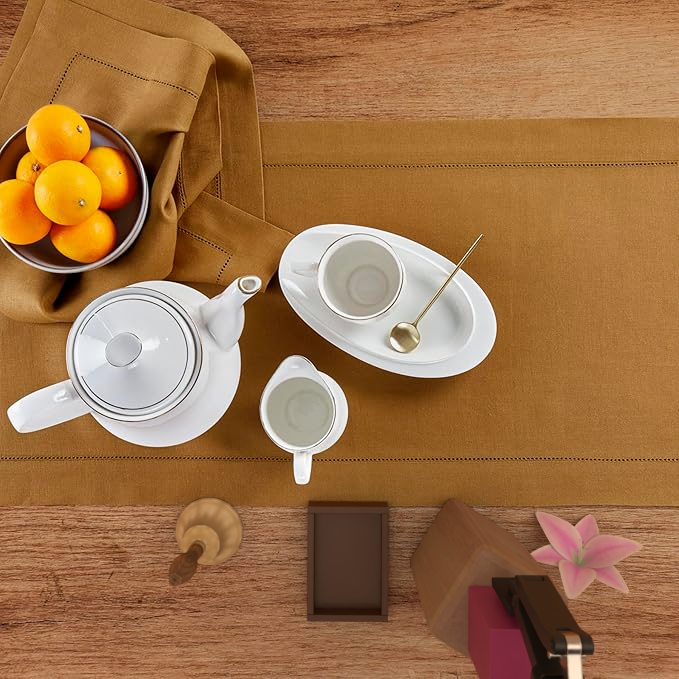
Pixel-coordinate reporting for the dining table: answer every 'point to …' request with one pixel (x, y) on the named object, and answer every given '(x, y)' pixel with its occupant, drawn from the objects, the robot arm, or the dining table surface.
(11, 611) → the dining table surface
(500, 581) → the robot arm
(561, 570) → the lily
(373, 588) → the tray
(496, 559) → the wooden block
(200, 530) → the hand bell
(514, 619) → the pink block
